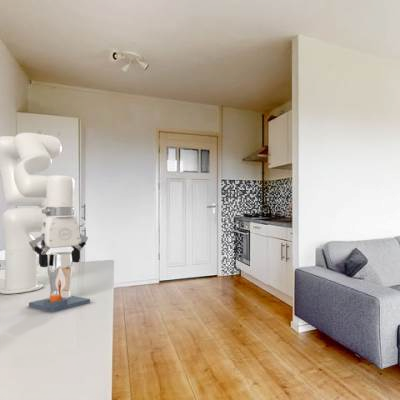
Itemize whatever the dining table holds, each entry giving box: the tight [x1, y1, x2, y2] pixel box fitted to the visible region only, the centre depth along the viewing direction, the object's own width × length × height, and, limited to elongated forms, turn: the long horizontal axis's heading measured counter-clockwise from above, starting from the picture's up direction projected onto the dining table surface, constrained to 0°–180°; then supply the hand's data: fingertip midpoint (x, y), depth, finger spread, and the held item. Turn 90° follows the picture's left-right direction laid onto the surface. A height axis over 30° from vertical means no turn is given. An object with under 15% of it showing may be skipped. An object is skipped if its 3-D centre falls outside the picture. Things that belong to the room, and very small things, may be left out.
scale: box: [28, 295, 91, 313], centre depth 110 cm, size 14×12×3 cm
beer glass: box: [46, 251, 74, 299], centre depth 113 cm, size 7×7×15 cm
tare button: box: [49, 294, 62, 302], centre depth 105 cm, size 3×3×2 cm
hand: (60, 264), depth 113 cm, fingers open, 9 cm apart
